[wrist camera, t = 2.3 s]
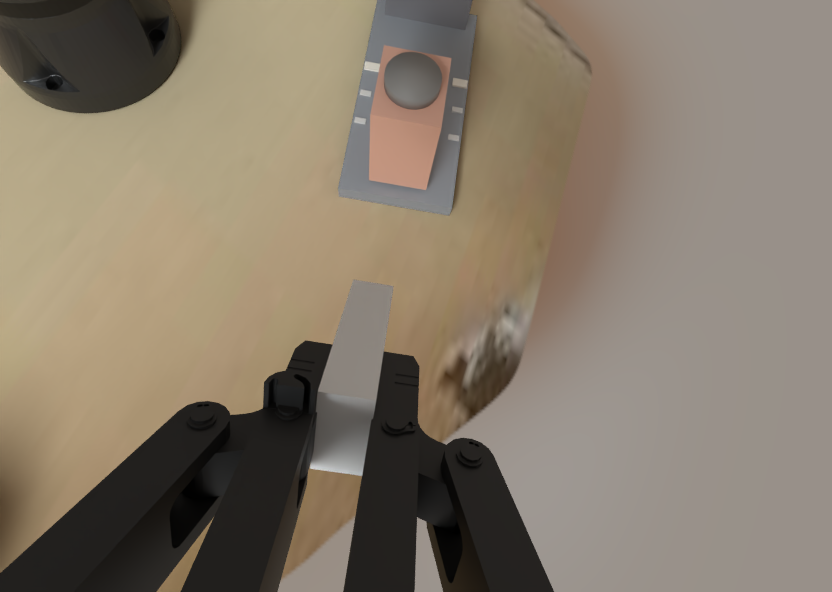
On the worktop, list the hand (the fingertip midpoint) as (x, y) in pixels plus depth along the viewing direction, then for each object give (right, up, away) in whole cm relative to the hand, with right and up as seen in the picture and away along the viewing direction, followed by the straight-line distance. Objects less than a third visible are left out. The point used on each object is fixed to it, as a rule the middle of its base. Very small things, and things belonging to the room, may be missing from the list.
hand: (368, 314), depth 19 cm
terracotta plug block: (+1, +13, +26) cm, 29 cm away
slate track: (+1, +19, +29) cm, 35 cm away
